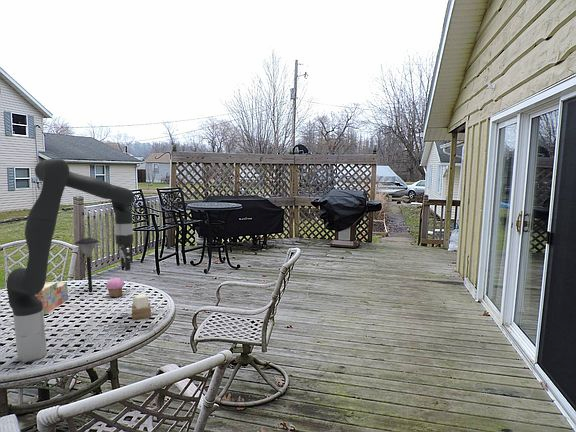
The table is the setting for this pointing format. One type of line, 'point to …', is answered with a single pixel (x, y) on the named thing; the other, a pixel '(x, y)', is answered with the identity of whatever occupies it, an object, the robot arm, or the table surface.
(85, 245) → the solar garden light
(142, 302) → the cream cube
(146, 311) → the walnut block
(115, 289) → the cupcake
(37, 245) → the robot arm
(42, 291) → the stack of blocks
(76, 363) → the table surface
